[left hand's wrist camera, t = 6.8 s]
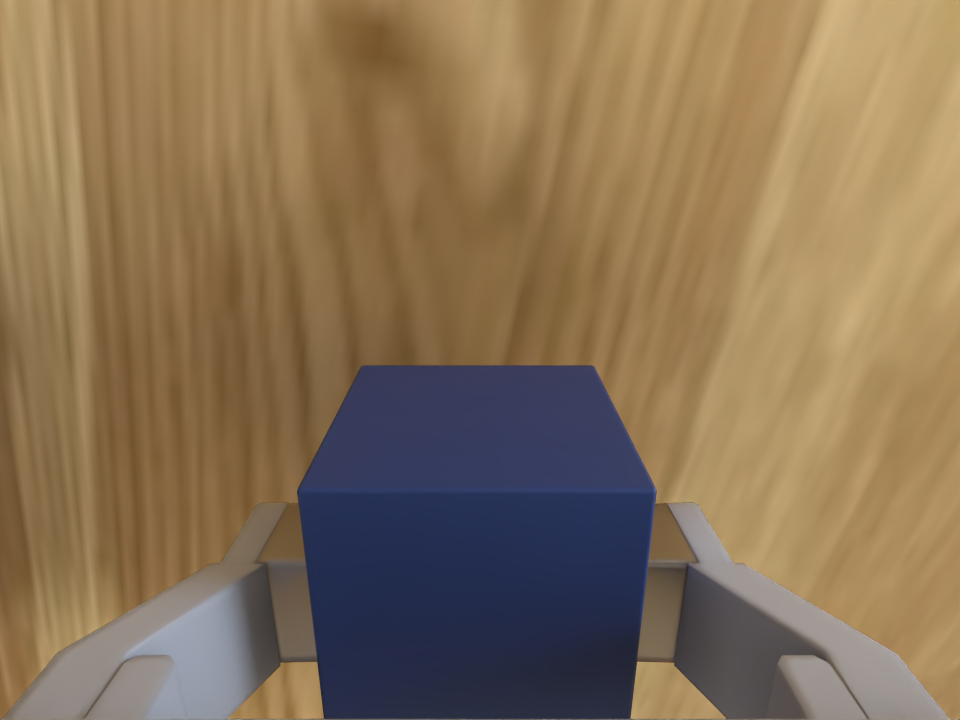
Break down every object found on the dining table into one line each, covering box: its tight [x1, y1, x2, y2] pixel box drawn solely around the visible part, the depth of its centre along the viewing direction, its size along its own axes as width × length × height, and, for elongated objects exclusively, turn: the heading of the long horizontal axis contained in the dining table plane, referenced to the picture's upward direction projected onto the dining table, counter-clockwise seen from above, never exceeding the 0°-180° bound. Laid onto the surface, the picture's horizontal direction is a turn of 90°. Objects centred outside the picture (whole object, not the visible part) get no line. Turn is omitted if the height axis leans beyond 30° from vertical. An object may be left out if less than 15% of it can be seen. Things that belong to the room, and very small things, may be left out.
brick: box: [297, 366, 657, 719], centre depth 10 cm, size 4×5×4 cm
